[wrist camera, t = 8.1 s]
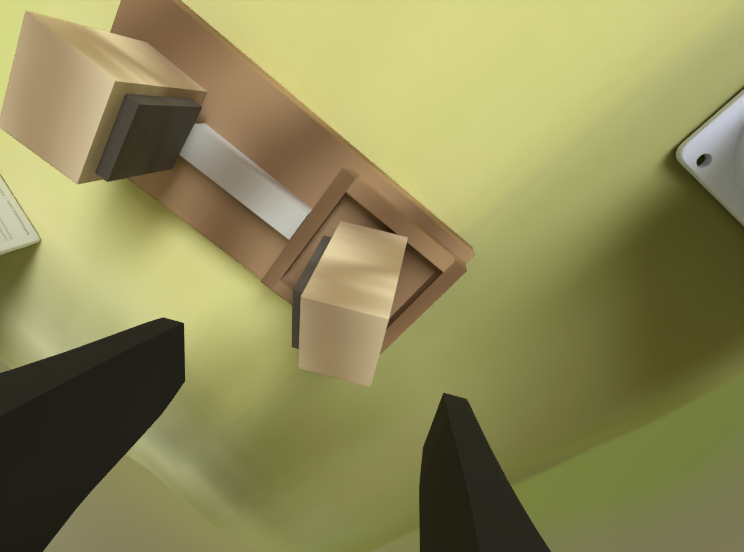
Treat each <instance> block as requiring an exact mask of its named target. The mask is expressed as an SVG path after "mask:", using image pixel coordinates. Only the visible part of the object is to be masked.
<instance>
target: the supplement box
mask: <svg viewBox="0 0 744 552" xmlns="http://www.w3.org/2000/svg"><path fill="white" fill-rule="evenodd" d="M39 241H40V238H39V236H38V234H37V233H36V231H35V230H34V228H33V226H32V225H31V223H30V222H29V220H28V218H27V217H26V215H25V214H24V212H23V211H22V209H21V207H20V206H19V204H18V203H17V201H16V200H15V198H14V196H13V195H12V193H11V192H10V190H9V188H8V187H7V185H6V184H5V182H4V181H3V179H2V177H1V176H0V255H3V254H6V253H9V252H12V251H15V250H18V249H21V248H24V247H27V246H30V245H32V244H35V243H38V242H39Z"/></svg>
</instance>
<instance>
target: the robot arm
mask: <svg viewBox="0 0 744 552" xmlns="http://www.w3.org/2000/svg"><path fill="white" fill-rule="evenodd" d="M703 154H704V155H705V161H704V162H703V163H702V164H701V165H699V166H697V164H696V162H697V159H698V158H699V156H701V155H703ZM676 158H677V160H678V162H679V163H680V164H681V165H682V166H683V167H684V168H685V169H686V170H687V171H688V172H689V173H690V174H691V175H692V176H693V177H694V178H695V179H696V180H697V181H698V182H699V183H700V184H701V185H702V186H703V187H704V188H705V189H706V190H707V191H708V192H709V193H710V194H711V195H712V196H714V197H715V198H716V199H717V200H718V201H719V202H720V203H721V204H722V205H723V206H724V207H725V208H726V209H727V210H728V211H729V212H730V213H731V214H732V215H733V216H734V217H735V218H736V219H737V220H738V221H739V222H740V223H741V224H742V225H743V226H744V89H743V90H742V91H741V92H740V93H739V94H738V95H736V96H735V97H734V98H733V99H732V100H731V101H730V102H728V103H727V104H726V105H725V106H724V107H723V108H722V109H720V110H719V111H718V112H717V113H716V114H715V115H714V116H712V117H711V118H710V119H709V120H708V121H707V122H706V123H704V124H703V125H702V126H701V127H700V128H699V129H698V130H696V131H695V132H694V133H693V134H692V135H691V136H689V137H688V138H687V139H686V140H685V141H684V142H683V143H682V144H681V145H680V146H679V147H678V149H677V151H676ZM184 382H185V353H184V323H182V322H178V321H174V320H170V319H167V318H160V319H156V320H153V321H150V322H147V323H144V324H141V325H139V326H136V327H133V328H130V329H127V330H125V331H122V332H119V333H117V334H114V335H111V336H108V337H106V338H103V339H100V340H97V341H95V342H92V343H89V344H86V345H83V346H81V347H78V348H75V349H72V350H70V351H67V352H64V353H61V354H58V355H55V356H52V357H49V358H46V359H43V360H40V361H36V362H33V363H30V364H27V365H24V366H21V367H18V368H15V369H12V370H9V371H6V372H2V373H0V552H43V551H44V549H45V548H46V547H47V545H48V544H49V543H50V541H51V540H52V539H53V538H54V536H55V535H56V534H57V533H58V531H59V530H60V529H61V528H62V526H63V525H64V524H65V522H66V521H67V520H68V519H69V517H70V516H71V515H72V513H73V512H74V511H75V510H76V508H77V507H78V506H79V505H80V503H82V501H83V500H84V499H85V498H86V497H87V496H88V494H89V493H90V492H91V491H92V490H93V489H94V488H95V486H96V485H97V484H98V483H99V482H100V481H101V480H102V479H103V478H104V477H105V476H106V475H107V473H108V472H109V471H110V470H111V469H112V468H113V467H114V466H115V465H116V464H117V462H118V461H119V460H120V459H121V458H122V457H123V456H124V455H125V454H126V453H127V452H128V451H129V450H130V448H131V447H132V446H133V445H134V444H135V443H136V442H137V441H138V440H139V439H140V438H141V436H142V435H143V434H144V433H145V432H146V431H147V430H148V429H149V428H150V426H151V425H152V424H153V423H154V422H155V421H156V420H157V419H158V418H159V416H160V415H161V414H162V413H163V412H164V410H165V409H166V407H167V406H168V405H169V403H170V402H171V401H172V399H173V398H174V396H175V395H176V394H177V392H178V391H179V389H180V388H181V386H182V385H183V383H184ZM419 508H420V552H551V551H550V550H549V548H548V547H547V545H546V544H545V542H544V540H543V539H542V537H541V536H540V534H539V533H538V531H537V529H536V528H535V526H534V525H533V523H532V521H531V520H530V518H529V516H528V515H527V513H526V511H525V510H524V508H523V506H522V505H521V503H520V501H519V499H518V498H517V496H516V494H515V493H514V491H513V489H512V487H511V485H510V484H509V482H508V480H507V478H506V476H505V474H504V472H503V471H502V469H501V467H500V465H499V463H498V461H497V459H496V458H495V456H494V454H493V452H492V450H491V448H490V446H489V444H488V442H487V440H486V438H485V436H484V434H483V432H482V429H481V427H480V425H479V423H478V421H477V419H476V417H475V415H474V413H473V410H472V408H471V406H470V404H469V402H468V401H467V399H465V398H461V397H457V396H453V395H450V394H446V393H443V396H442V398H441V401H440V404H439V406H438V409H437V412H436V414H435V417H434V420H433V422H432V425H431V428H430V430H429V433H428V436H427V438H426V441H425V444H424V446H423V454H422V464H421V474H420V485H419Z"/></svg>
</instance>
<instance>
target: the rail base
mask: <svg viewBox="0 0 744 552" xmlns="http://www.w3.org/2000/svg"><path fill="white" fill-rule="evenodd" d="M0 128H1V129H2V130H3V131H5V132H6V133H8V134H9V135H10V136H12V137H13V138H14V139H16V140H17V141H18V142H20V143H21V144H23V145H24V146H25V147H27V148H28V149H29V150H31V151H32V152H34V153H35V154H36V155H38V156H39V157H40V158H42V159H43V160H44V161H46V162H47V163H49V164H50V165H51V166H53V167H54V168H55V169H57V170H58V171H59V172H61V173H62V174H64V175H65V176H66V177H68V178H69V179H70V180H72V181H73V182H75V183H76V184H81V183H87V182H92V181H97V180H103V179H104V180H105V181H107V182H109V181H114V180H119V179H124V178H127V179H129V180H130V181H131V182H133V183H134V184H135V185H137V186H138V187H139V188H141V189H142V190H143V191H145V192H146V193H147V194H148V195H150V196H151V197H152V198H154V199H155V200H156V201H158V202H159V203H160V204H162V205H163V206H164V207H166V208H167V209H168V210H170V211H171V212H172V213H174V214H175V215H176V216H178V217H179V218H180V219H182V220H183V221H184V222H186V223H187V224H188V225H190V226H191V227H192V228H194V229H195V230H196V231H198V232H199V233H200V234H202V235H203V236H204V237H206V238H207V239H208V240H210V241H211V242H212V243H214V244H215V245H216V246H218V247H219V248H220V249H222V250H223V251H224V252H226V253H227V254H228V255H230V256H231V257H232V258H234V259H235V260H236V261H238V262H239V263H240V264H242V265H243V266H244V267H246V268H247V269H248V270H250V271H251V272H252V273H254V274H255V275H256V276H258V277H259V278H260V279H262V280H261V282H262V283H263V284H265V285H266V286H267V287H269V288H270V289H271V290H273V291H274V292H275V293H277V294H278V295H279V296H281V297H282V298H283V299H285V300H286V301H287V302H289V303H290V304H291V305H293V289H294V287H295V285H296V283H297V282H298V280H299V278H300V276H301V274H302V273H303V271H304V269H305V267H306V266H307V264H308V262H309V260H310V259H311V257H312V255H313V253H314V252H315V250H316V248H317V246H318V244H319V243H320V241H321V239H322V237H323V236H328V237H332V236H333V235H334V233H335V231H336V229H337V227H338V225H339V223H340V221H343V222H347V223H351V224H356V225H360V226H364V227H368V228H372V229H376V230H380V231H384V232H388V233H393V234H397V235H401V236H405V237H408V239H407V244H406V248H405V252H404V256H403V261H402V265H401V269H400V274H399V278H398V282H397V287H396V291H395V295H394V300H393V304H392V308H391V312H390V317H389V321H388V325H387V328H386V332H385V336H384V340H383V343H382V347H381V351H380V354H381V353H382V352H383V351H384V350H385V349H386V348H388V347H389V346H390V345H391V344H392V343H393V342H394V341H395V340H396V339H397V338H398V337H399V336H400V335H401V334H402V333H403V332H404V331H405V330H406V329H407V328H408V327H409V326H410V325H411V324H412V323H413V322H414V321H416V320H417V319H418V318H419V317H420V316H421V315H422V314H423V313H424V312H425V311H426V310H427V309H428V308H429V307H430V306H431V305H432V304H433V303H434V302H435V301H436V300H437V299H438V298H439V297H440V296H441V295H443V294H444V293H445V292H446V291H447V290H448V289H449V288H450V287H451V286H452V285H453V284H454V283H455V282H456V281H457V280H458V279H459V278H460V277H461V276H462V275H463V274H464V273H465V272H466V271H467V270H466V265H465V264H466V263H467V262H468V261H469V260H470V259H471V258H472V257H473V256H474V252H473V249H472V246H470V245H469V244H468V243H467V242H466V241H464V240H463V239H462V238H461V237H460V236H459V235H457V234H456V233H455V232H454V231H453V230H451V229H450V228H449V227H448V226H447V225H446V224H444V223H443V222H442V221H441V220H440V219H438V218H437V217H436V216H435V215H434V214H433V213H431V212H430V211H429V210H428V209H427V208H425V207H424V206H423V205H422V204H421V203H420V202H418V201H417V200H416V199H415V198H414V197H412V196H411V195H410V194H409V193H408V192H407V191H405V190H404V189H403V188H402V187H401V186H399V185H398V184H397V183H396V182H395V181H394V180H392V179H391V178H390V177H389V176H388V175H386V174H385V173H384V172H383V171H382V170H381V169H379V168H378V167H377V166H376V165H375V164H374V163H372V162H371V161H370V160H369V159H368V158H366V157H365V156H364V155H363V154H362V153H361V152H359V151H358V150H357V149H356V148H355V147H353V146H352V145H351V144H350V143H349V142H348V141H346V140H345V139H344V138H343V137H342V136H340V135H339V134H338V133H337V132H336V131H335V130H333V129H332V128H331V127H330V126H329V125H327V124H326V123H325V122H324V121H323V120H322V119H320V118H319V117H318V116H317V115H316V114H314V113H313V112H312V111H311V110H310V109H309V108H307V107H306V106H305V105H304V104H303V103H301V102H300V101H299V100H298V99H297V98H296V97H294V96H293V95H292V94H291V93H290V92H288V91H287V90H286V89H285V88H284V87H283V86H281V85H280V84H279V83H278V82H277V81H275V80H274V79H273V78H272V77H271V76H270V75H268V74H267V73H266V72H265V71H264V70H262V69H261V68H260V67H259V66H258V65H257V64H255V63H254V62H253V61H252V60H251V59H249V58H248V57H247V56H246V55H245V54H244V53H242V52H241V51H240V50H239V49H238V48H236V47H235V46H234V45H233V44H232V43H231V42H229V41H228V40H227V39H226V38H225V37H223V36H222V35H221V34H220V33H219V32H218V31H216V30H215V29H214V28H213V27H212V26H210V25H209V24H208V23H207V22H206V21H205V20H203V19H202V18H201V17H200V16H199V15H197V14H196V13H195V12H194V11H193V10H192V9H190V8H189V7H188V6H187V5H186V4H184V3H183V2H182V1H181V0H121V2H120V5H119V8H118V11H117V14H116V17H115V20H114V23H113V26H112V29H111V31H110V33H109V32H106V31H102V30H98V29H94V28H90V27H87V26H83V25H79V24H75V23H71V22H67V21H64V20H60V19H56V18H52V17H48V16H45V15H41V14H37V13H33V12H29V11H25V15H24V19H23V23H22V27H21V32H20V36H19V40H18V44H17V48H16V52H15V57H14V61H13V65H12V69H11V73H10V78H9V82H8V86H7V90H6V94H5V98H4V103H3V107H2V111H1V115H0Z"/></svg>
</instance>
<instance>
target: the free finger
mask: <svg viewBox="0 0 744 552" xmlns="http://www.w3.org/2000/svg"><path fill="white" fill-rule="evenodd" d="M407 239H408V237H405V236H401V235H397V234H393V233H388V232H384V231H380V230H376V229H372V228H368V227H364V226H360V225H356V224H351V223H347V222H343V221H340V223H339V225H338V227H337V229H336V231H335V233H334V235H333V236H332V237H328V236H323V237H322V239H321V241H320V243H319V244H318V246H317V248H316V250H315V252H314V253H313V255H312V257H311V259H310V260H309V262H308V264H307V266H306V267H305V269H304V271H303V273H302V274H301V276H300V278H299V280H298V282H297V283H296V285H295V287H294V289H293V305H292V347H294V348H297V349H299V361H298V368H301V369H304V370H308V371H312V372H315V373H319V374H323V375H327V376H330V377H334V378H338V379H342V380H345V381H349V382H353V383H356V384H360V385H364V386H368V387H371V384H372V381H373V377H374V373H375V370H376V366H377V362H378V358H379V355H380V351H381V347H382V343H383V340H384V336H385V332H386V328H387V325H388V321H389V317H390V312H391V308H392V304H393V300H394V295H395V291H396V287H397V282H398V278H399V274H400V269H401V265H402V261H403V256H404V252H405V248H406V244H407Z"/></svg>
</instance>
